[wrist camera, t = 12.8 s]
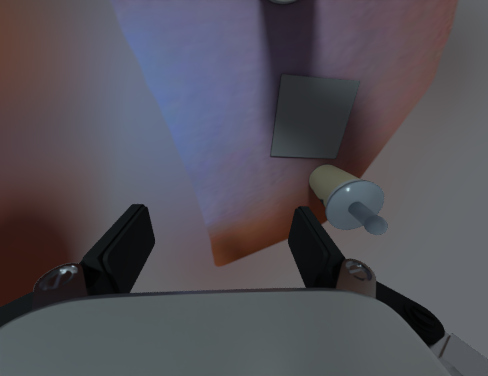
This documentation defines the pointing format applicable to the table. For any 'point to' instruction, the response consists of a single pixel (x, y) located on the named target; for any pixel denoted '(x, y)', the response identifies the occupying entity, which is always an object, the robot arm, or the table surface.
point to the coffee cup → (328, 181)
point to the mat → (312, 116)
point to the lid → (357, 207)
